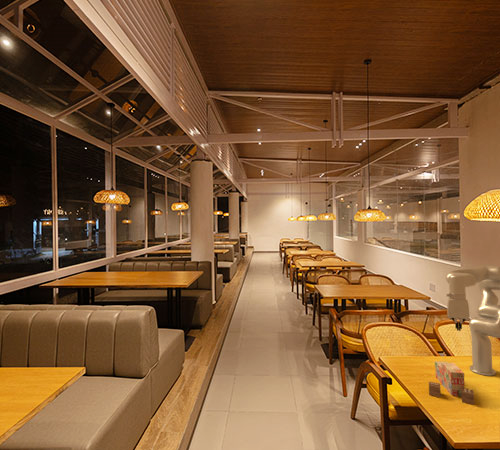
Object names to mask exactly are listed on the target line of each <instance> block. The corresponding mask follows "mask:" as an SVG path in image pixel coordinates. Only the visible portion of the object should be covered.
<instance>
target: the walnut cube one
mask: <svg viewBox="0 0 500 450" xmlns="http://www.w3.org/2000/svg"><path fill="white" fill-rule="evenodd" d="M428 395H429V396H431V397H436V396H437V397H436V398H441V383H440V382H434V381H428Z"/></svg>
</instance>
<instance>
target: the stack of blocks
mask: <svg viewBox="0 0 500 450" xmlns="http://www.w3.org/2000/svg"><path fill="white" fill-rule="evenodd" d="M434 368H435V378H436V379H437V381H438V383H440V385H442V386H443V387H444V388H445V390H446V389H447V390H446V391H447V392H448V393H449V395H450V396H451V395H453V396H452V397H461V388H465V383H466V382H465V372H464V371H463V370H462V369H461V368H459V367H458V366H457V365H456V364H455V363H454V362H447V361H437V360H436V361H434Z"/></svg>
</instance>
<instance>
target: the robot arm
mask: <svg viewBox="0 0 500 450" xmlns="http://www.w3.org/2000/svg"><path fill="white" fill-rule="evenodd" d="M445 277H446V278H445V279H446V283H448V284H449V288H448V289H449V293H447V294H446V297H448V299H447V304H446V306H447V307H446V308H447V309H446V310H447V316H446V318H447V319H449V320H452V321H453V322H454V323H455V327H454V328H455V330H457V331H459V332H462V331H461V330H463V323H465V322H468V324H469V331H470V336H471V355H472V358H471V359H472V365H470V366H469V370H470V371H471V372H473V373H474V374H477V375H481V376H493V377H494V376H495V375H497V373H496V372H497V371H496V370H495V369H493V353H492V352H493V351H492V347H493V346H492V341H491V340H490V337H492V338H497V339H500V304H499V303H498V302H499V298H498V296H497V294H496V293H495V292H494V290H495V291H500V266H498V265H497V266H496V265H479V266H476V267H472V268H465V269H457V270H452V271H450V272H447V274H446V276H445ZM476 284H478V287H479V291H480V294H481V297H480V300H479V303H478V307H477V308H476V309H477V310H476V314H477V316H478V317H477V316H473V317H471V318H470V307H469V306H470V305H469V301H468V299H467V297H466V295H467V294H466V288H473V287H474V286H476ZM458 319H459V321H458Z"/></svg>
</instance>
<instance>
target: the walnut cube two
mask: <svg viewBox="0 0 500 450" xmlns="http://www.w3.org/2000/svg"><path fill="white" fill-rule="evenodd" d="M474 393H475V392H474V390H473V389H469V388H465V387H464V388H461V396H460V397H461V398H462V399H461V402H462V403H464V402H465V404H468V403H469V405H475V394H474Z"/></svg>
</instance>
